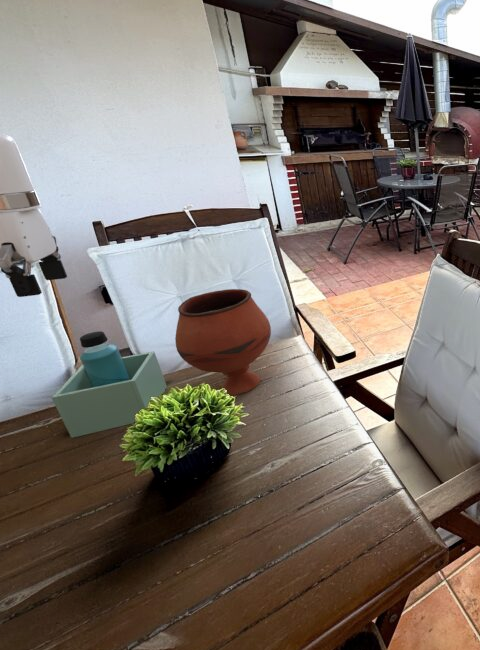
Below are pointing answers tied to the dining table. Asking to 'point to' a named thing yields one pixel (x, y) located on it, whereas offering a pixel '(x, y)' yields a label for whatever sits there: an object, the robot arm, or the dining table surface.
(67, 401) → the bin
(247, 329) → the goblet
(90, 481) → the dining table surface
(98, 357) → the beverage bottle
